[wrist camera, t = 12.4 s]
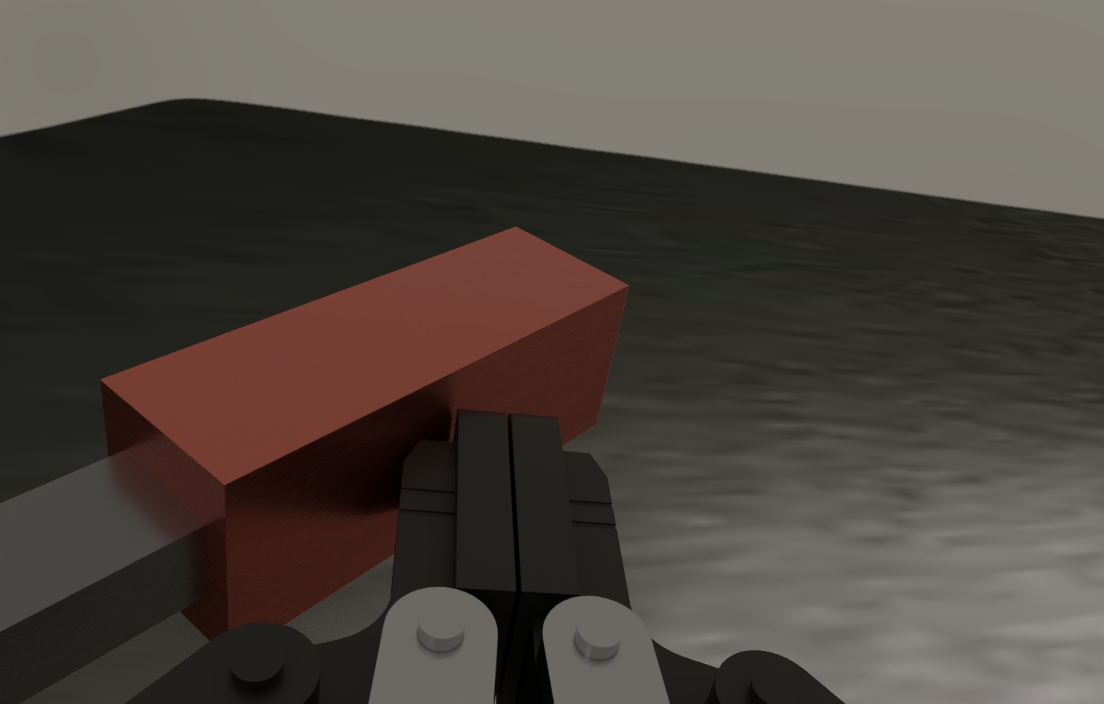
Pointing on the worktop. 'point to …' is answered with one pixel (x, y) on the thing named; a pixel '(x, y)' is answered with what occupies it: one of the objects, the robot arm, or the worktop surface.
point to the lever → (290, 450)
